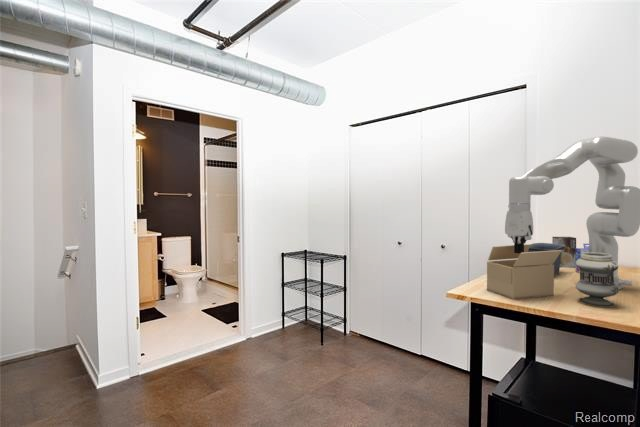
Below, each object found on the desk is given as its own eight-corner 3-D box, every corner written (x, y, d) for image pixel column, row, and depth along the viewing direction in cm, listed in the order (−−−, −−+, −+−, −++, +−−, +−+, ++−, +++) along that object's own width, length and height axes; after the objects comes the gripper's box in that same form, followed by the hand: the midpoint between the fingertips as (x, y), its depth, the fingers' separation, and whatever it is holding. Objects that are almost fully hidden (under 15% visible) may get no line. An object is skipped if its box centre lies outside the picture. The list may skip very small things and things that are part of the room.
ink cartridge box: (596, 271, 171) (597, 243, 171) (603, 274, 166) (603, 244, 165) (574, 271, 173) (574, 243, 173) (580, 273, 168) (580, 244, 167)
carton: (525, 286, 146) (525, 258, 146) (554, 295, 133) (554, 264, 132) (486, 289, 142) (486, 261, 141) (512, 299, 128) (512, 268, 128)
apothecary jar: (573, 296, 131) (573, 250, 130) (613, 300, 124) (614, 252, 124) (577, 305, 120) (578, 255, 119) (622, 310, 114) (623, 257, 113)
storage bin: (552, 280, 156) (552, 249, 156) (515, 274, 169) (516, 245, 168) (566, 273, 170) (567, 244, 169) (532, 268, 182) (532, 241, 181)
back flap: (524, 257, 145) (524, 257, 146) (530, 244, 142) (529, 244, 143) (488, 260, 141) (487, 259, 141) (493, 247, 138) (492, 246, 138)
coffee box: (569, 265, 188) (570, 236, 187) (576, 267, 182) (577, 237, 181) (551, 264, 190) (552, 236, 189) (557, 267, 183) (558, 237, 183)
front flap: (560, 250, 129) (561, 250, 129) (552, 262, 133) (553, 263, 132) (520, 252, 125) (521, 253, 124) (513, 265, 128) (514, 266, 128)
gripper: (497, 207, 142) (497, 250, 143) (527, 208, 128) (526, 256, 129) (512, 207, 144) (512, 249, 145) (543, 208, 130) (542, 255, 130)
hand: (519, 252), depth 137 cm, fingers closed
